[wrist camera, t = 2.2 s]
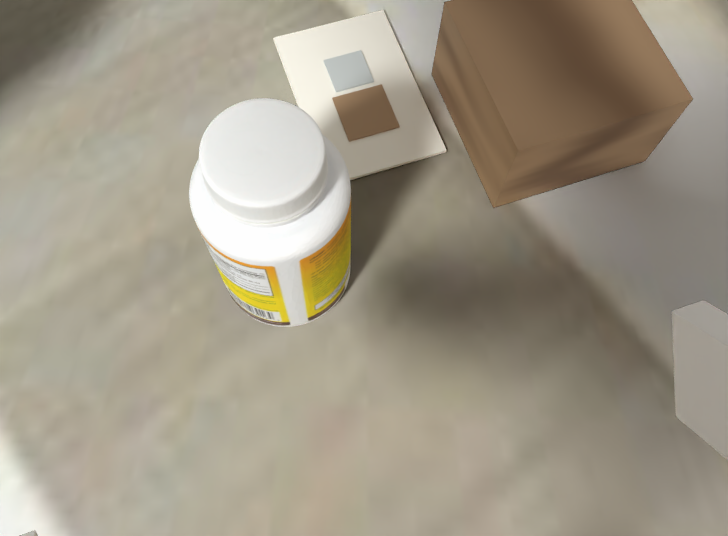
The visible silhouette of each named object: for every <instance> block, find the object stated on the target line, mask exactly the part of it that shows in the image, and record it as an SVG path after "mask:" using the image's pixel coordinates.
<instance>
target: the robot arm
mask: <svg viewBox="0 0 728 536" xmlns="http://www.w3.org/2000/svg"><path fill="white" fill-rule="evenodd" d="M672 335H673V361H674V388H675V414H676V417H677V418H678V419H679V420H680V421H682V422H683V423H684V424H685V425H686V426H688V427H689V428H690V429H691V430H692V431H693V432H695V433H696V434H697V435H698V436H699V437H701V438H702V439H703V440H704V441H705V442H707V443H708V444H709V445H710V446H711V447H713V448H714V449H715V450H716V451H717V452H718V453H720V454H721V455H722V456H723V457H724V458H726V459H727V460H728V314H727V313H726V312H724V311H722V310H720V309H719V308H717V307H715V306H713V305H712V304H710V303H708V302H706V301H705V300H702V301H699V302H696V303H693V304H690V305H688V306H685V307H682V308H679V309H676V310H673V311H672ZM20 536H38V535H37V533H36V531H35V530H34V531H31V532H28V533H26V534H23V535H20Z"/></svg>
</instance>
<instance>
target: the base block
mask: <svg viewBox="0 0 728 536" xmlns="http://www.w3.org/2000/svg"><path fill="white" fill-rule="evenodd" d="M432 76H433V79H434V81H435V83H436V85H437V87H438V89H439V92H440V94H441V96H442V98H443V100H444V102H445V104H446V107H447V109H448V111H449V113H450V115H451V117H452V120H453V122H454V124H455V126H456V128H457V130H458V133H459V135H460V137H461V139H462V141H463V143H464V145H465V148H466V150H467V152H468V154H469V156H470V158H471V161H472V163H473V165H474V167H475V169H476V171H477V174H478V176H479V178H480V180H481V182H482V184H483V186H484V189H485V191H486V193H487V195H488V197H489V199H490V202H491V204H492V206H493V208H495V207H498V206H501V205H504V204H508V203H511V202H514V201H517V200H521V199H524V198H527V197H530V196H533V195H537V194H540V193H543V192H546V191H550V190H553V189H556V188H559V187H563V186H566V185H569V184H572V183H576V182H579V181H582V180H585V179H589V178H592V177H595V176H598V175H602V174H605V173H608V172H611V171H614V170H618V169H621V168H624V167H627V166H631V165H634V164H637V163H640V162H644V161H645V160H646V159H647V158H648V156H649V155H650V154H651V153H652V151H653V150H654V149H655V147H656V146H657V145H658V144H659V142H660V141H661V140H662V138H663V137H664V136H665V135H666V133H667V132H668V131H669V129H670V128H671V127H672V126H673V124H674V123H675V122H676V120H677V119H678V118H679V117H680V115H681V114H682V113H683V111H684V110H685V109H686V107H687V106H688V105H689V104H690V102H691V101H692V100H693V98H692V96H691V95H690V93H689V92H688V90H687V88H686V87H685V85H684V84H683V82H682V80H681V79H680V77H679V76H678V74H677V72H676V71H675V69H674V68H673V66H672V64H671V63H670V61H669V59H668V58H667V56H666V55H665V53H664V51H663V50H662V48H661V47H660V45H659V43H658V42H657V40H656V39H655V37H654V35H653V34H652V32H651V31H650V29H649V27H648V26H647V24H646V22H645V21H644V19H643V18H642V16H641V14H640V13H639V11H638V10H637V8H636V6H635V5H634V3H633V2H632V0H451V1H447V2H444V8H443V13H442V19H441V24H440V30H439V35H438V41H437V46H436V52H435V57H434V63H433V68H432Z"/></svg>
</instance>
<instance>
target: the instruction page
mask: <svg viewBox="0 0 728 536" xmlns="http://www.w3.org/2000/svg"><path fill="white" fill-rule="evenodd" d="M273 40H274V43H275V46H276V48H277V51H278V54H279V57H280V59H281V62H282V65H283V67H284V70H285V73H286V75H287V78H288V81H289V84H290V86H291V89H292V92H293V94H294V97H295V100H296V102H297V105H298V107H299V108H301V109H302V110H304V111H305V112H306V113H307V114H309V115H310V116H311V117H312V118H313V120H314V121H315V122H316V123H317V125H318V127H319V128H320V130H321V132H322V134H323V135H324V136H325V137H326V138H328V139H329V140H330V141H331V142H332V143H333V145H334V146H335V147H336V148H337V150H338V151H339V152H340V154H341V156H342V157H343V159H344V161H345V164H346V166H347V169H348V173H349V177H350V180H353V179H356V178H360V177H363V176H367V175H370V174H373V173H377V172H380V171H384V170H387V169H390V168H394V167H397V166H401V165H404V164H408V163H411V162H414V161H418V160H421V159H425V158H428V157H431V156H435V155H438V154H442V153H445V152H446V148H445V146H444V143H443V141H442V139H441V137H440V135H439V132H438V130H437V128H436V126H435V123H434V121H433V119H432V117H431V115H430V112H429V110H428V108H427V106H426V103H425V101H424V99H423V97H422V95H421V92H420V90H419V88H418V86H417V84H416V81H415V79H414V77H413V75H412V72H411V70H410V68H409V66H408V64H407V61H406V59H405V57H404V55H403V52H402V50H401V48H400V46H399V44H398V41H397V39H396V37H395V35H394V33H393V30H392V28H391V26H390V24H389V21H388V19H387V17H386V15H385V13H384V10H380V11H376V12H372V13H368V14H364V15H361V16H357V17H353V18H349V19H345V20H341V21H337V22H333V23H329V24H326V25H322V26H318V27H314V28H310V29H306V30H302V31H298V32H294V33H291V34H287V35H283V36H279V37H275V38H273Z"/></svg>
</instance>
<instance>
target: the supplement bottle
mask: <svg viewBox="0 0 728 536" xmlns="http://www.w3.org/2000/svg"><path fill="white" fill-rule="evenodd" d="M189 200H190V206H191V210H192V214H193V217H194V220H195V222H196V224H197V227H198V229H199V231H200V233H201V235H202V237H203V239H204V241H205V243H206V245H207V248H208V250H209V252H210V254H211V256H212V258H213V260H214V262H215V264H216V266H217V269H218V271H219V273H220V275H221V277H222V279H223V281H224V283H225V285H226V287H227V289H228V291H229V293H230V295H231V297H232V299H233V300H234V301H235V302H236V304H237V305H238V306H239V307H240V308H241V309H242V310H243V311H244V312H245V313H246V314H248V315H249V316H251V317H252V318H254V319H256V320H258V321H260V322H262V323H265V324H269V325H273V326H280V327H291V326H299V325H303V324H306V323H309V322H312V321H314V320H316V319H318V318H320V317H321V316H323V315H324V314H326V313H327V312H328V311H329V310H331V309H332V308H333V307H334V306H335V304H336V303H337V302H338V301H339V300H340V298H341V297H342V295H343V293H344V291H345V289H346V287H347V284H348V281H349V277H350V269H351V185H350V177H349V173H348V169H347V166H346V164H345V161H344V159H343V157H342V156H341V154H340V152H339V151H338V150H337V148H336V147H335V146H334V145H333V143H332V142H331V141H330V140H329V139H328V138H326V137H325V136H324V135H323V134H322V132H321V130H320V128H319V127H318V125H317V123H316V122H315V121H314V120H313V118H312V117H311V116H310V115H309V114H307V113H306V112H305V111H304V110H302V109H301V108H299V107H298V106H296V105H294V104H291V103H289V102H286V101H283V100H278V99H271V98H257V99H250V100H246V101H242V102H240V103H237V104H235V105H232V106H230V107H229V108H227V109H225V110H224V111H223V112H221V113H220V114H219V115H218V116H216V117H215V118H214V119H213V120H212V122H211V123H210V124H209V126H208V127H207V129H206V131H205V133H204V135H203V137H202V139H201V143H200V148H199V159H198V161H197V163H196V165H195V167H194V170H193V173H192V177H191V181H190V189H189Z"/></svg>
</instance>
